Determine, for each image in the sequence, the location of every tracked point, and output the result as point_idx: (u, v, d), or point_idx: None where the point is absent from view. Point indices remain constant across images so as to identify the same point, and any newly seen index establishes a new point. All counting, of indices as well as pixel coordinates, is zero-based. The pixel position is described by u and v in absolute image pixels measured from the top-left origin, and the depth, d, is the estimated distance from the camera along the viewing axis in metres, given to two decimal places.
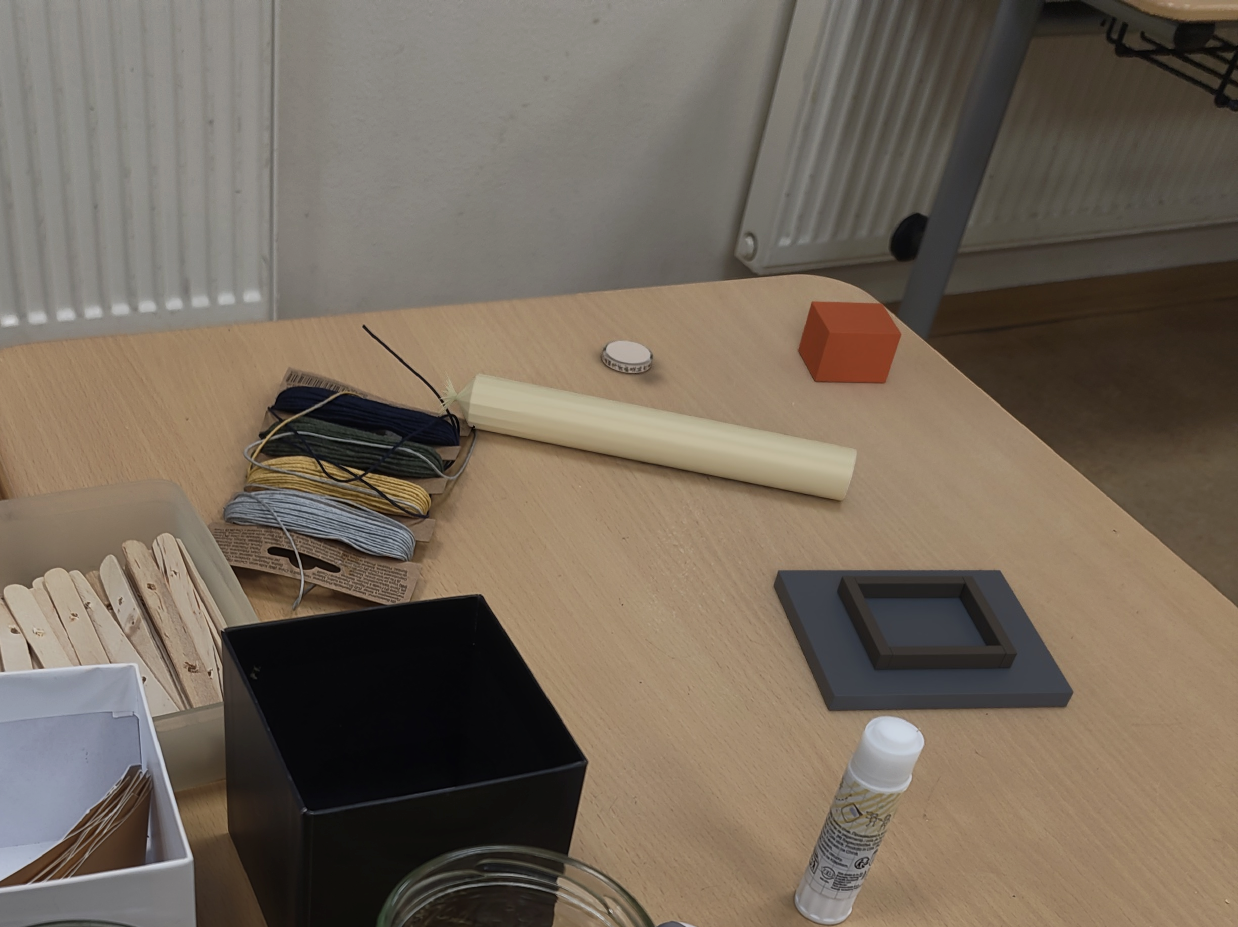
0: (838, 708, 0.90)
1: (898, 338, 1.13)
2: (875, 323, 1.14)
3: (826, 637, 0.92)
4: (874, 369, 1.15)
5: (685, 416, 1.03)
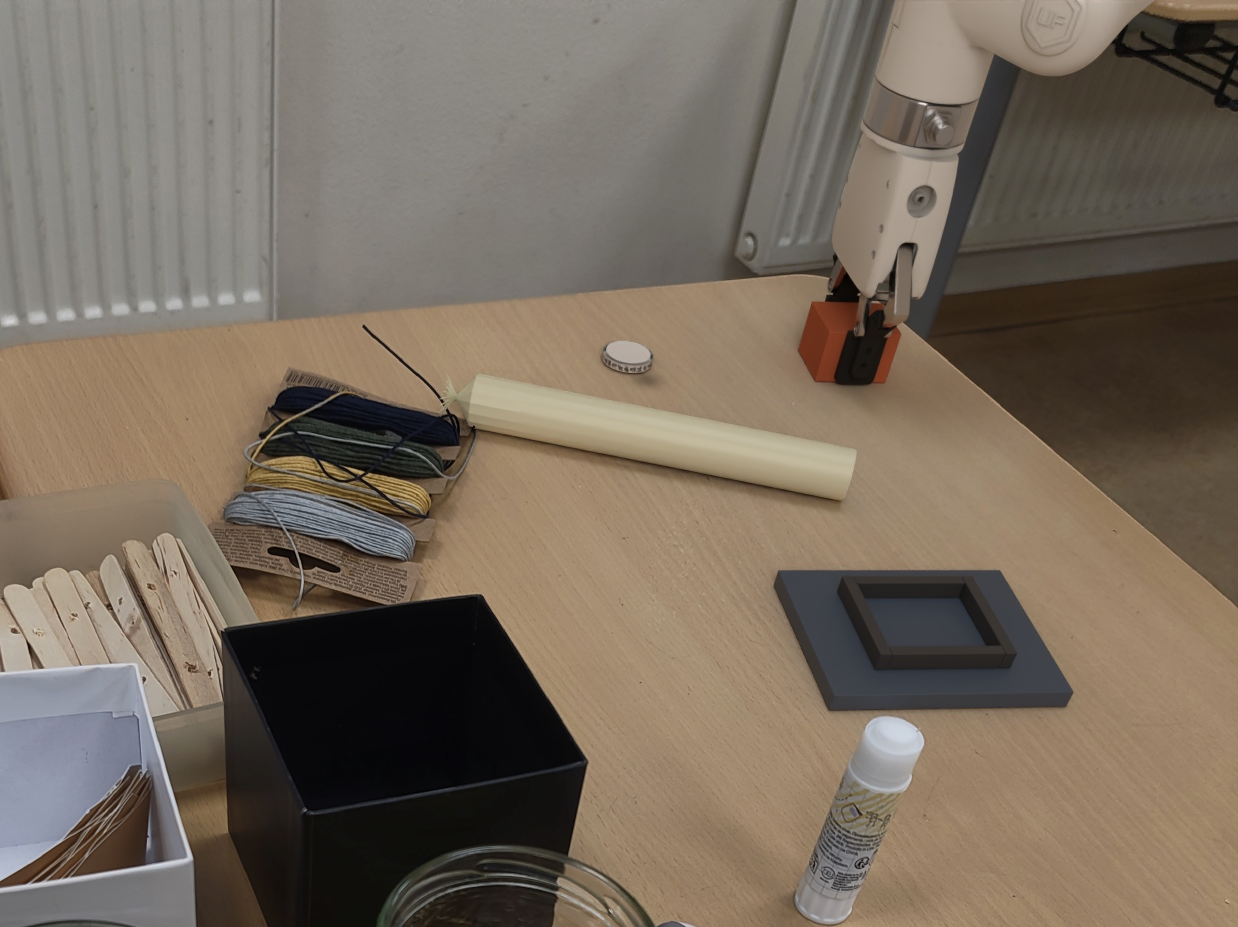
0: (838, 708, 0.90)
1: (898, 338, 1.13)
2: None
3: (826, 637, 0.92)
4: None
5: (685, 416, 1.03)
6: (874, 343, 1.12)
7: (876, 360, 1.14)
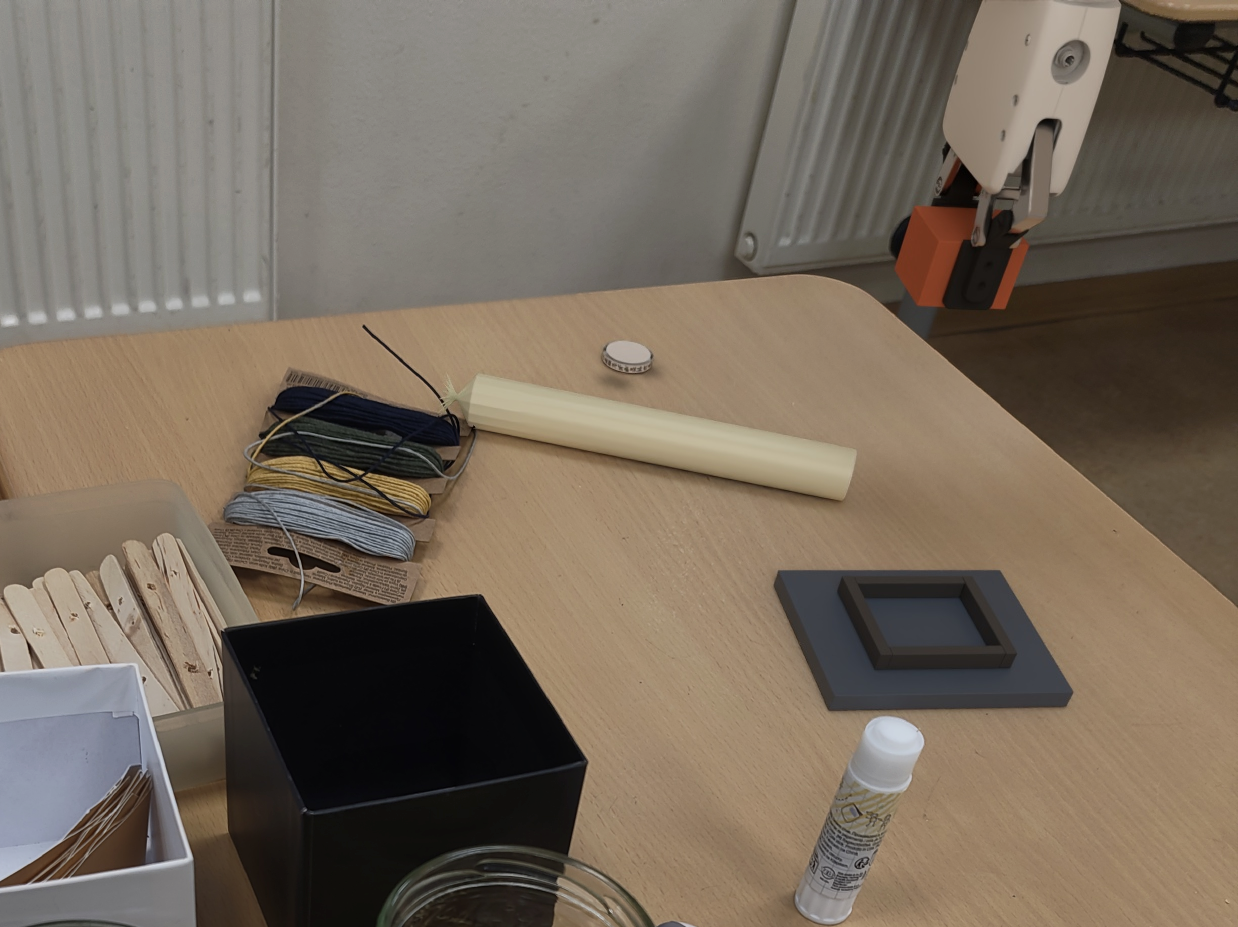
0: (838, 708, 0.90)
1: (1025, 250, 0.90)
2: None
3: (826, 637, 0.92)
4: None
5: (685, 416, 1.03)
6: (996, 255, 0.89)
7: (997, 279, 0.90)
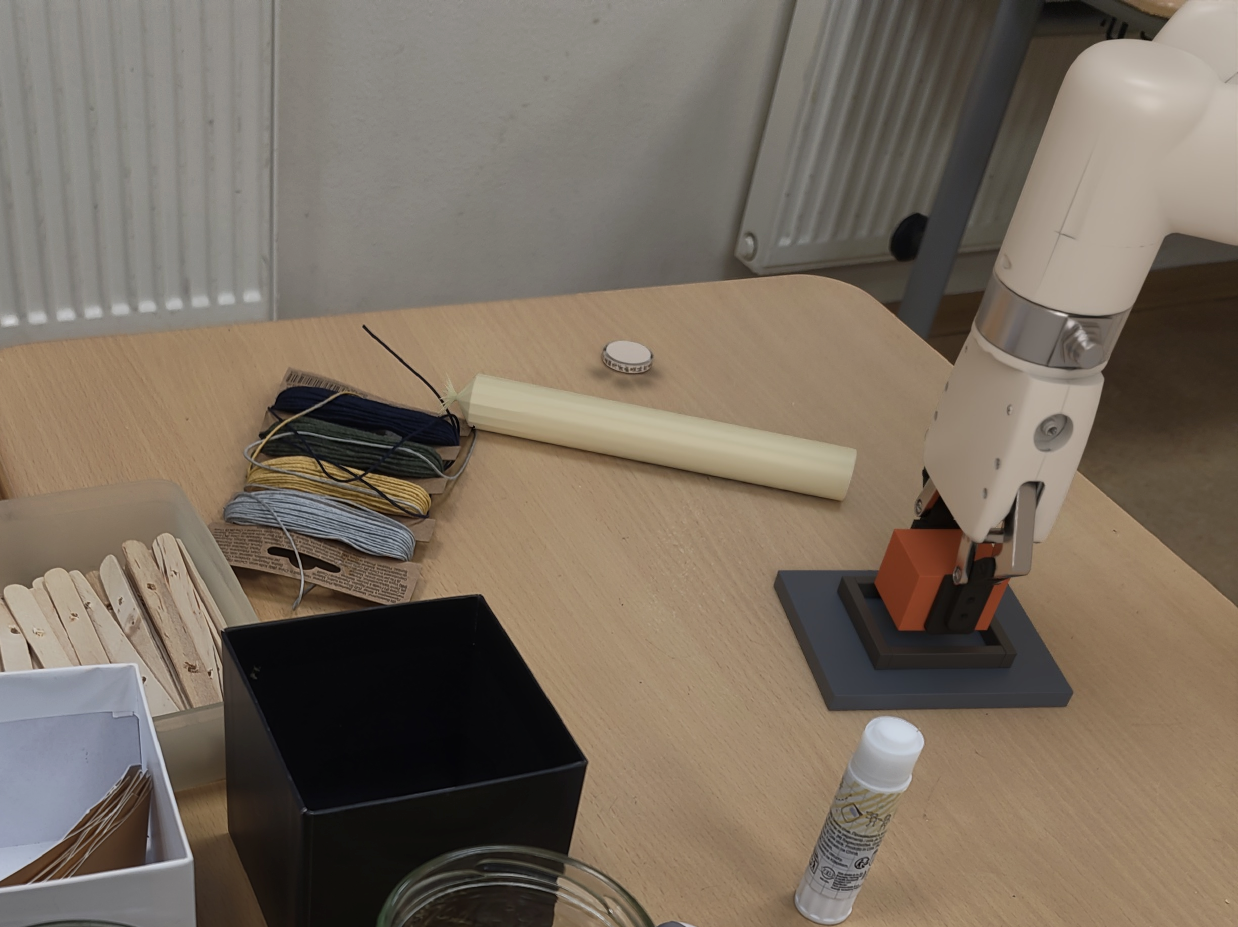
0: (838, 708, 0.90)
1: (1007, 581, 0.89)
2: None
3: (826, 637, 0.92)
4: None
5: (685, 416, 1.03)
6: (978, 591, 0.87)
7: (979, 607, 0.89)
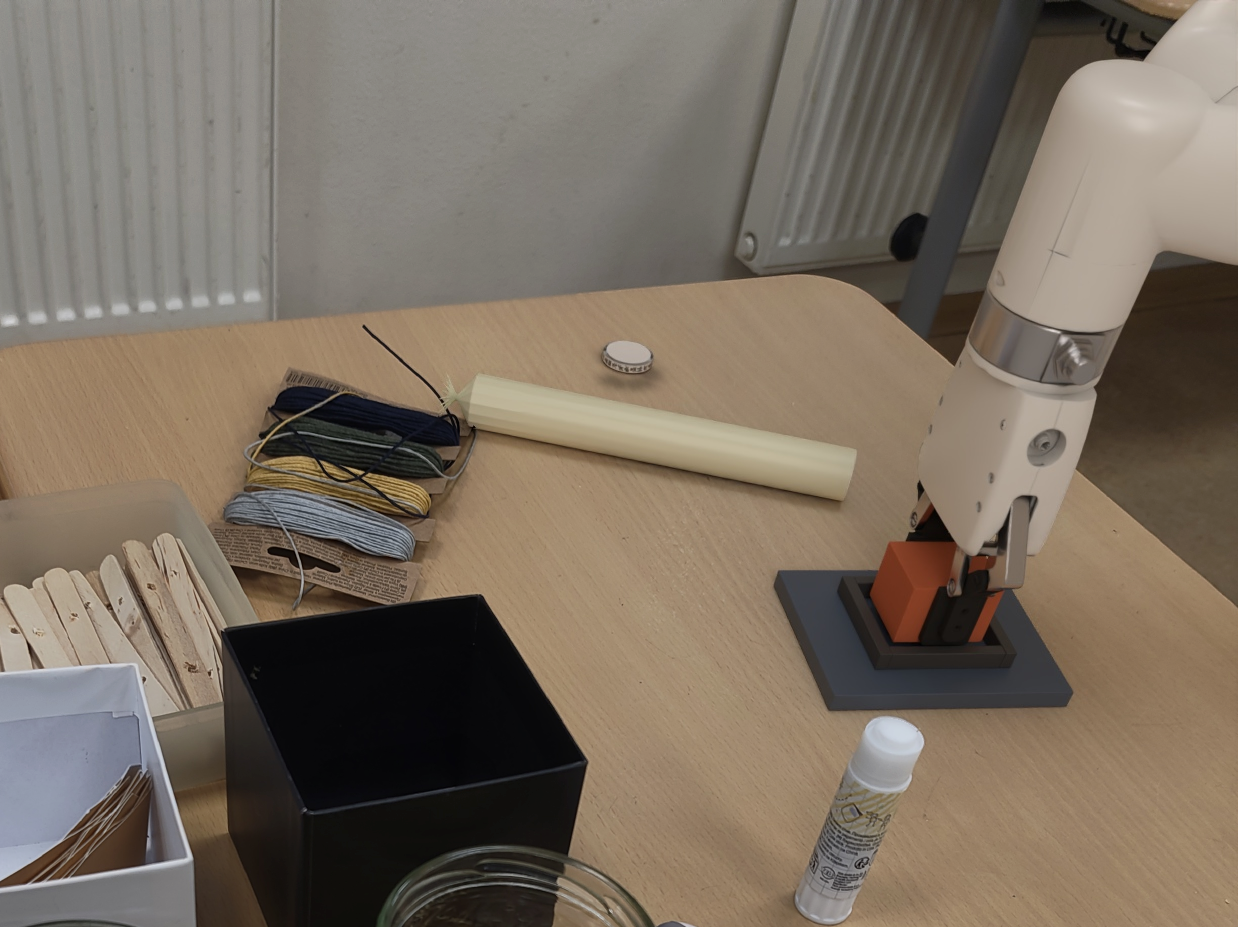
0: (838, 708, 0.90)
1: (1001, 593, 0.89)
2: None
3: (826, 637, 0.92)
4: None
5: (685, 416, 1.03)
6: (972, 603, 0.88)
7: (973, 619, 0.90)
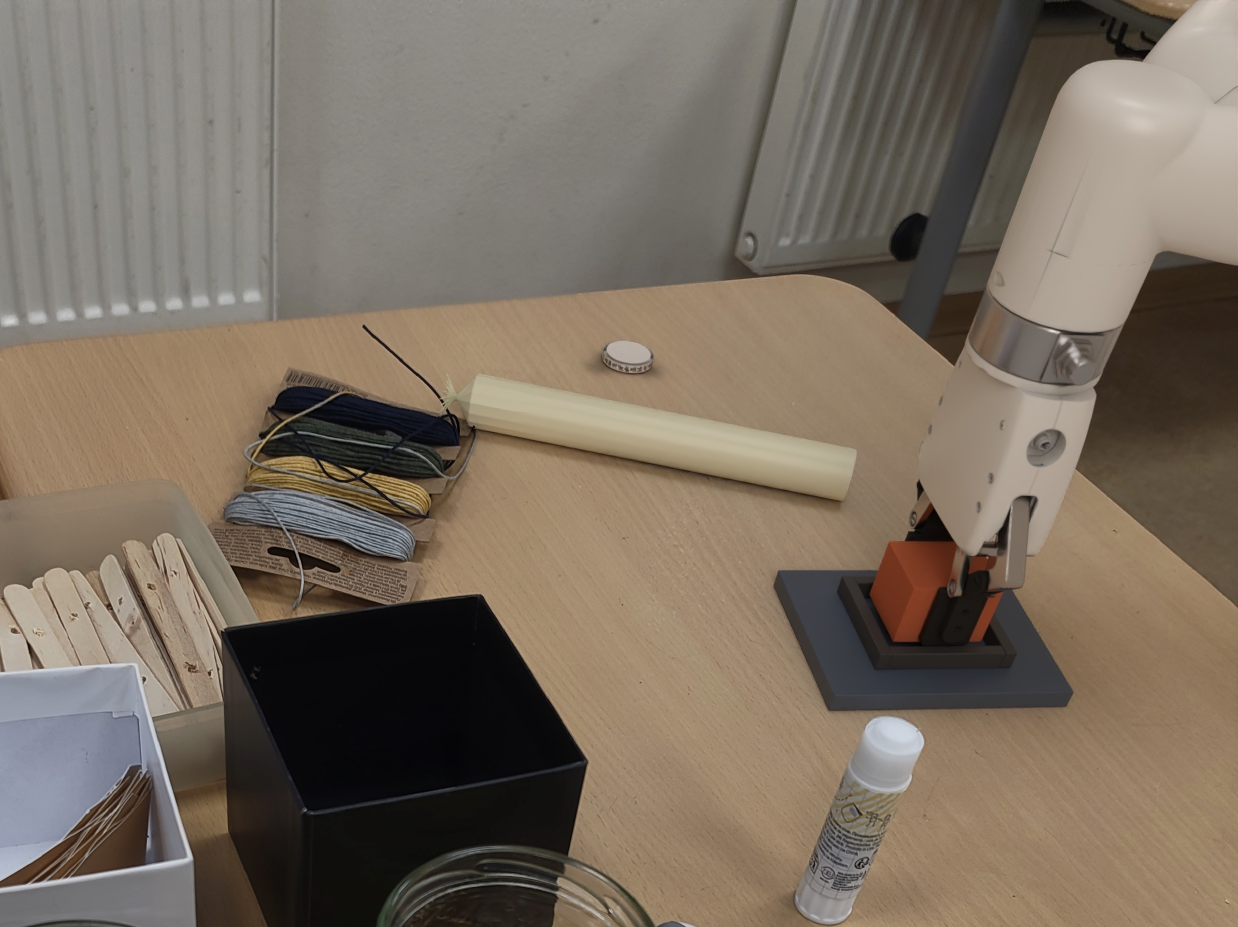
0: (838, 708, 0.90)
1: (1000, 593, 0.89)
2: None
3: (826, 637, 0.92)
4: None
5: (685, 416, 1.03)
6: (972, 603, 0.88)
7: (973, 620, 0.90)
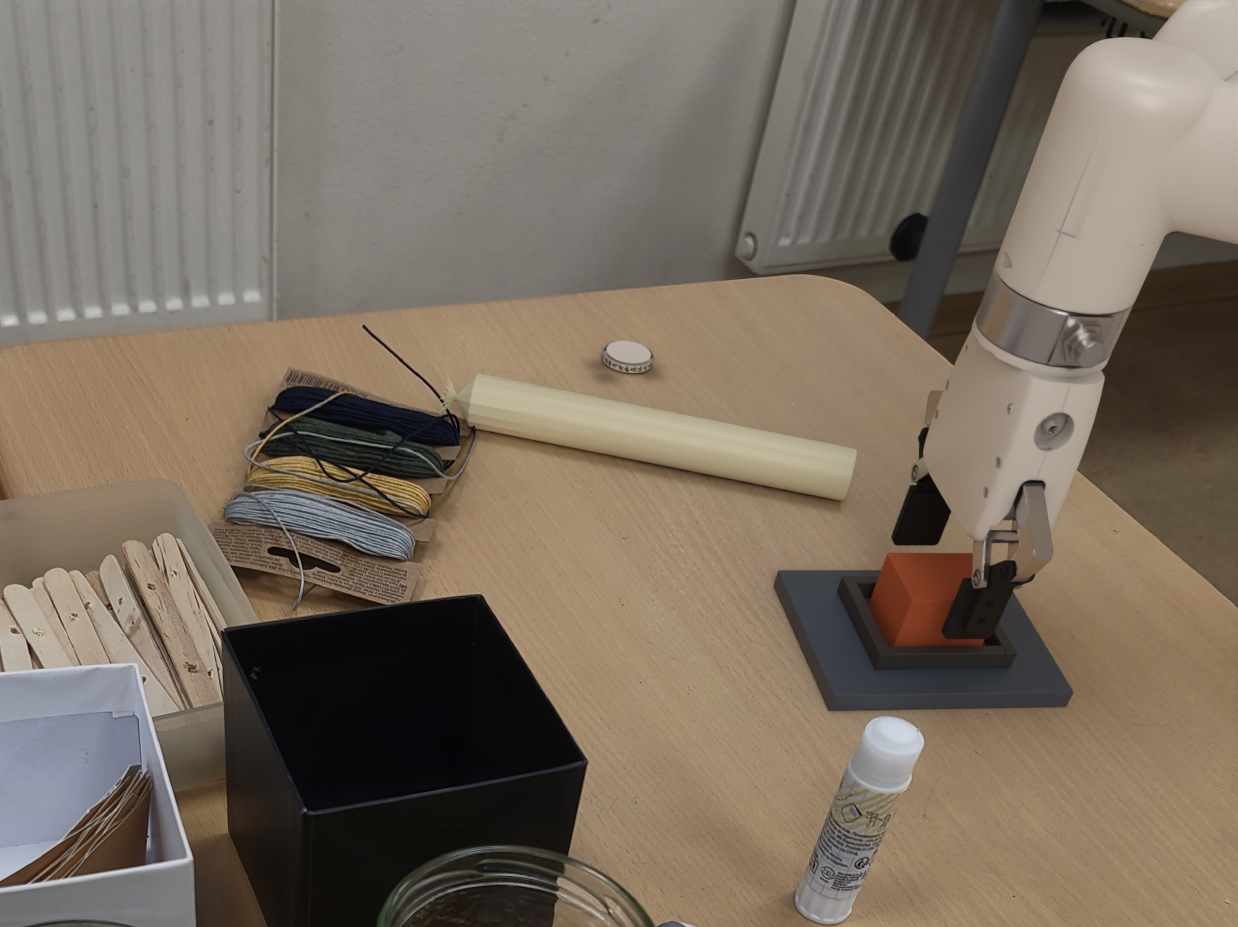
0: (838, 708, 0.90)
1: None
2: None
3: (826, 637, 0.92)
4: None
5: (685, 416, 1.03)
6: (998, 595, 0.85)
7: (998, 612, 0.87)
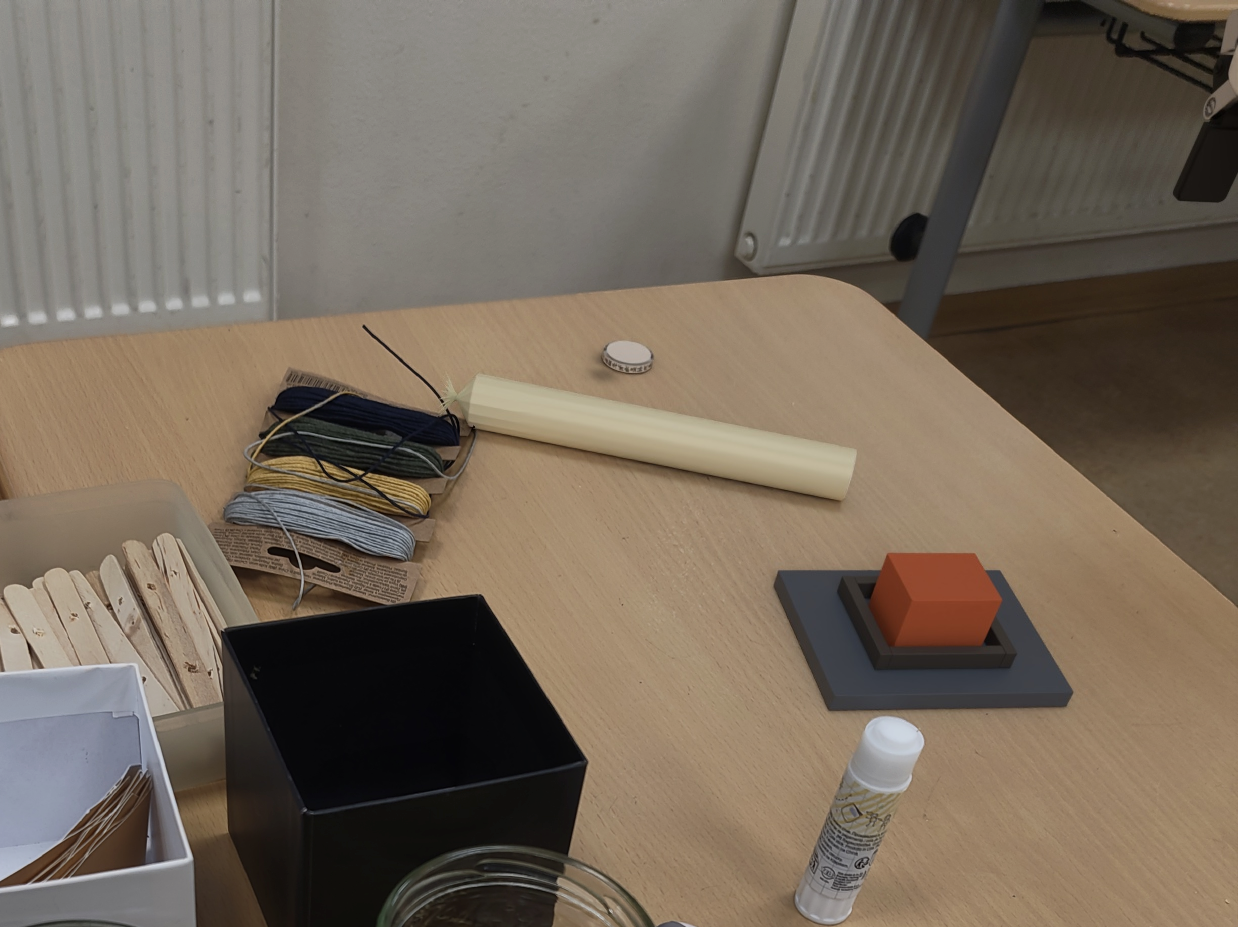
0: (838, 708, 0.90)
1: (998, 604, 0.90)
2: (968, 584, 0.90)
3: (826, 637, 0.92)
4: (965, 638, 0.92)
5: (685, 416, 1.03)
6: None
7: None
